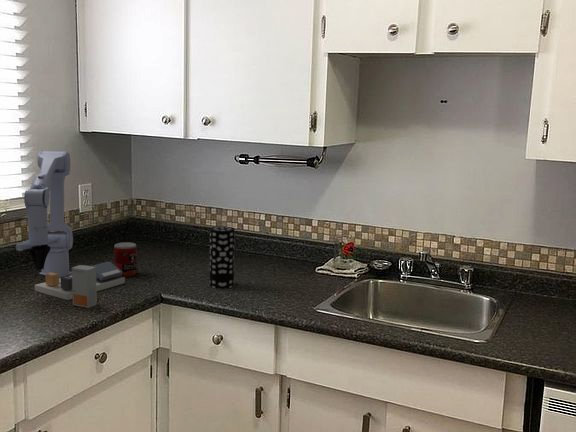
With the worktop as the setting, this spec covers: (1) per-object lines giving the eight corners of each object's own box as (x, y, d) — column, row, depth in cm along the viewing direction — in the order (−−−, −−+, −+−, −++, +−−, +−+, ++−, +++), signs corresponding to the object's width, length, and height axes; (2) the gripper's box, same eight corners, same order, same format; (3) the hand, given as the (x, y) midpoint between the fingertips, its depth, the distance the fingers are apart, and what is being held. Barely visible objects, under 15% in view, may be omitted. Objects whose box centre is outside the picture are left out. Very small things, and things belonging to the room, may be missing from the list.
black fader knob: (60, 288, 197) (60, 277, 197) (67, 286, 199) (67, 275, 199) (68, 290, 195) (67, 279, 195) (74, 288, 197) (74, 277, 197)
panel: (34, 290, 202) (34, 279, 201) (93, 275, 222) (92, 264, 221) (67, 300, 193) (67, 288, 193) (125, 282, 214) (124, 272, 213)
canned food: (124, 278, 219) (123, 248, 217) (110, 274, 224) (109, 244, 222) (141, 274, 225) (141, 244, 223) (127, 270, 230) (126, 241, 228)
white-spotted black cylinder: (220, 280, 220) (221, 225, 216) (238, 285, 215) (239, 228, 212) (204, 285, 213) (204, 228, 210) (222, 290, 209) (223, 232, 205)
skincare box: (72, 305, 188) (70, 267, 186) (81, 301, 192) (80, 264, 190) (88, 308, 186) (87, 270, 184) (97, 304, 190) (96, 266, 188)
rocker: (88, 269, 209) (89, 265, 209) (108, 264, 217) (109, 260, 216) (101, 281, 206) (102, 277, 206) (121, 275, 214) (122, 271, 213)
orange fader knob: (45, 284, 201) (45, 273, 200) (52, 282, 203) (51, 271, 202) (52, 286, 199) (52, 275, 199) (59, 284, 201) (58, 273, 201)
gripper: (25, 232, 186) (27, 275, 188) (65, 225, 198) (67, 266, 200) (11, 229, 189) (13, 272, 192) (51, 222, 202) (52, 262, 204)
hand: (39, 268), depth 196 cm, fingers closed
